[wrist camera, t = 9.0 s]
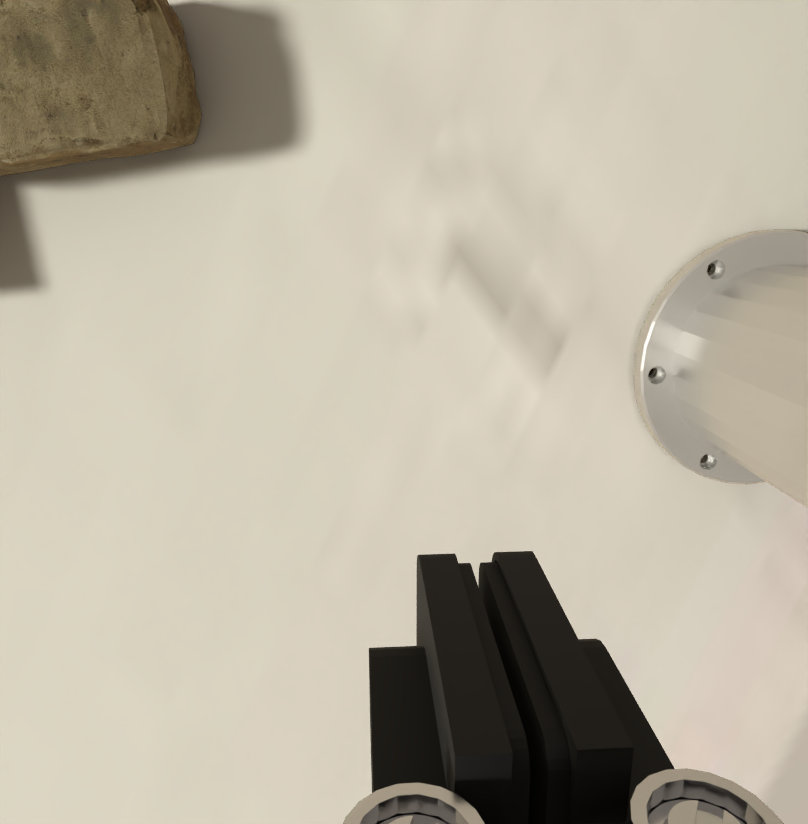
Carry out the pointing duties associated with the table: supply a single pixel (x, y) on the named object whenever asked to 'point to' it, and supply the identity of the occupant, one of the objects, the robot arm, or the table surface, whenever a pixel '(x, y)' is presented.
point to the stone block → (92, 82)
